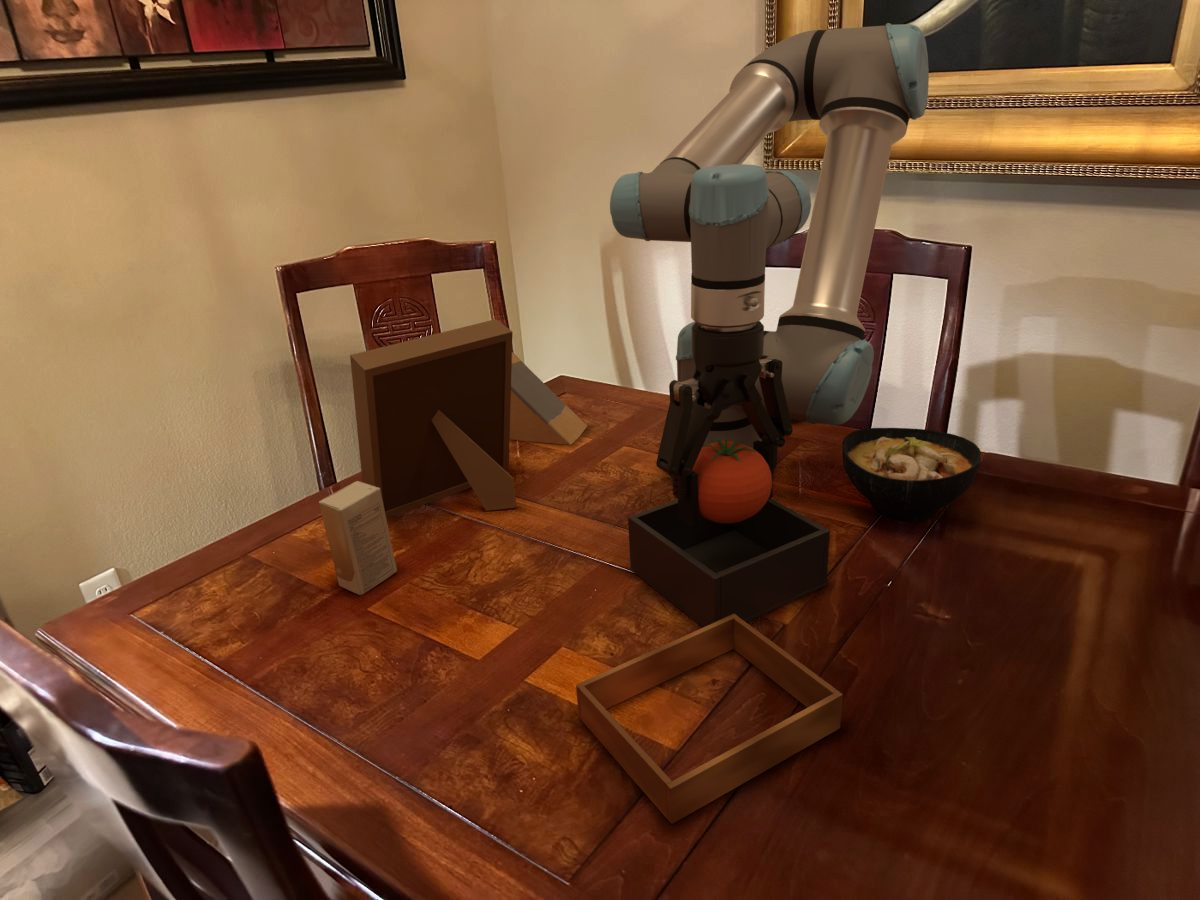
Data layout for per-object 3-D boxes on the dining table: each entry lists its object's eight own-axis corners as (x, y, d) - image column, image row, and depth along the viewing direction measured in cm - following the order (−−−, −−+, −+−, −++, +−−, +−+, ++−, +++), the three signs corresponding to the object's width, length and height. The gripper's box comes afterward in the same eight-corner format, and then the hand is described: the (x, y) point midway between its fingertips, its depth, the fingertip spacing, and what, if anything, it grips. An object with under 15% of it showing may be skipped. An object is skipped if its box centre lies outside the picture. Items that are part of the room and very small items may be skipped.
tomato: (771, 542, 92) (774, 460, 88) (678, 538, 94) (676, 457, 90) (770, 498, 101) (773, 422, 97) (685, 495, 103) (684, 420, 99)
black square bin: (734, 529, 111) (735, 478, 108) (826, 586, 98) (830, 530, 95) (630, 569, 104) (627, 516, 101) (714, 637, 91) (714, 578, 88)
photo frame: (365, 511, 122) (333, 345, 112) (494, 465, 134) (476, 311, 123) (411, 550, 111) (379, 371, 101) (546, 497, 123) (531, 331, 112)
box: (733, 644, 90) (734, 613, 88) (840, 728, 78) (843, 694, 76) (578, 717, 81) (575, 684, 79) (671, 824, 69) (670, 788, 67)
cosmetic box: (375, 563, 109) (359, 478, 104) (398, 572, 106) (383, 486, 101) (335, 587, 104) (316, 500, 99) (358, 597, 102) (340, 508, 97)
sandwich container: (571, 445, 139) (565, 359, 133) (488, 438, 144) (477, 354, 138) (589, 425, 146) (583, 342, 140) (509, 419, 151) (500, 338, 145)
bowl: (851, 472, 125) (856, 409, 120) (977, 490, 117) (986, 424, 113) (825, 526, 111) (830, 457, 107) (966, 550, 104) (976, 478, 99)
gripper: (659, 352, 80) (664, 553, 89) (833, 308, 90) (821, 492, 99) (616, 335, 86) (625, 524, 95) (784, 295, 96) (778, 470, 105)
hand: (726, 508), depth 97 cm, fingers closed on tomato, 10 cm apart
